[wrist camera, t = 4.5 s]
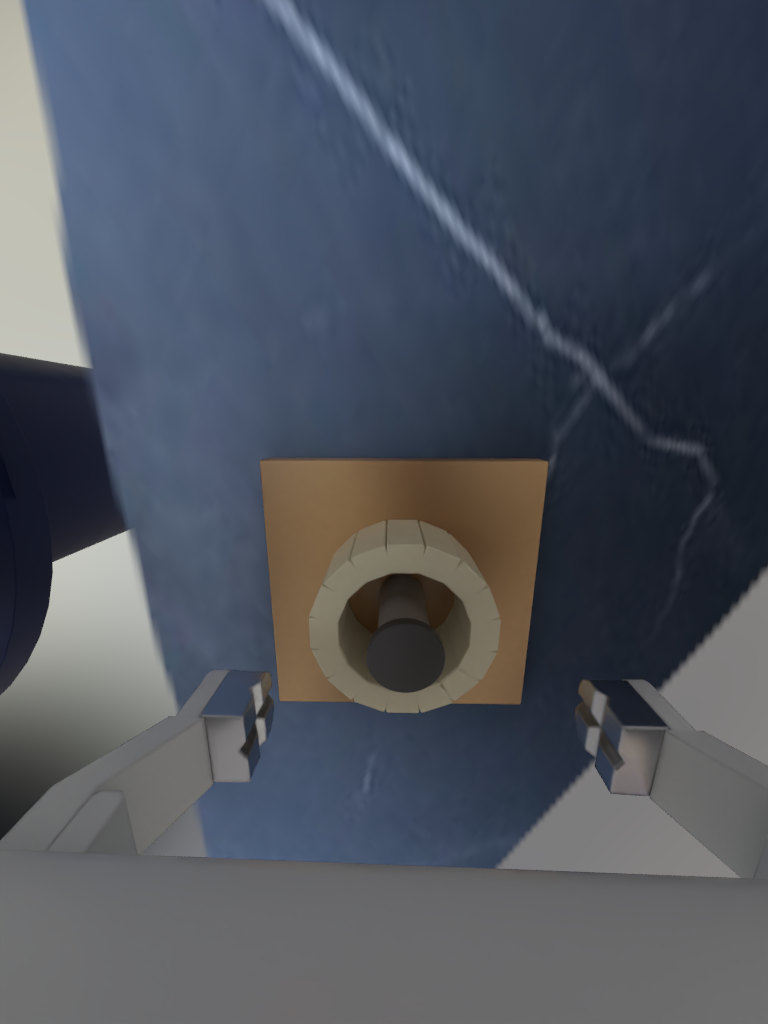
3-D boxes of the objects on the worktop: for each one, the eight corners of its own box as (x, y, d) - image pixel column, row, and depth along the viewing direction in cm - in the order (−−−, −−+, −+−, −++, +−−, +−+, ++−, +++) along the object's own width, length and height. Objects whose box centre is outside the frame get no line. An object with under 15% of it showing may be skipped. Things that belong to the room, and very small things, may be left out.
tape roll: (327, 658, 16) (313, 712, 13) (321, 518, 14) (303, 543, 11) (473, 660, 16) (492, 715, 13) (483, 519, 14) (508, 545, 11)
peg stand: (285, 686, 17) (241, 797, 12) (267, 457, 15) (201, 477, 10) (514, 689, 17) (566, 803, 12) (539, 458, 15) (620, 480, 9)
